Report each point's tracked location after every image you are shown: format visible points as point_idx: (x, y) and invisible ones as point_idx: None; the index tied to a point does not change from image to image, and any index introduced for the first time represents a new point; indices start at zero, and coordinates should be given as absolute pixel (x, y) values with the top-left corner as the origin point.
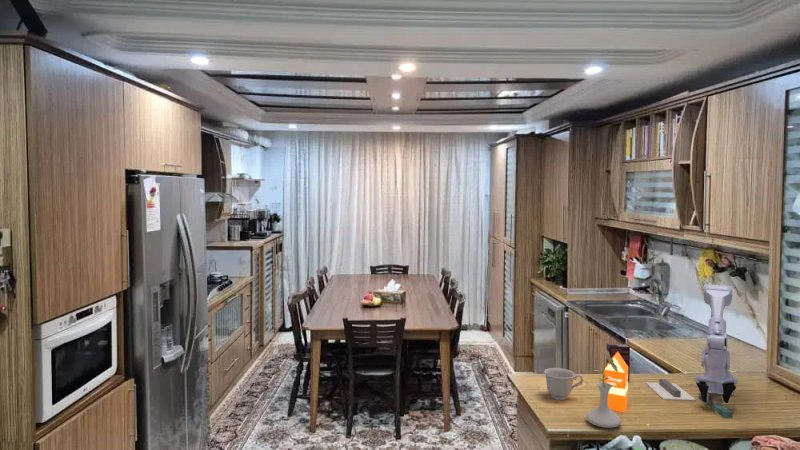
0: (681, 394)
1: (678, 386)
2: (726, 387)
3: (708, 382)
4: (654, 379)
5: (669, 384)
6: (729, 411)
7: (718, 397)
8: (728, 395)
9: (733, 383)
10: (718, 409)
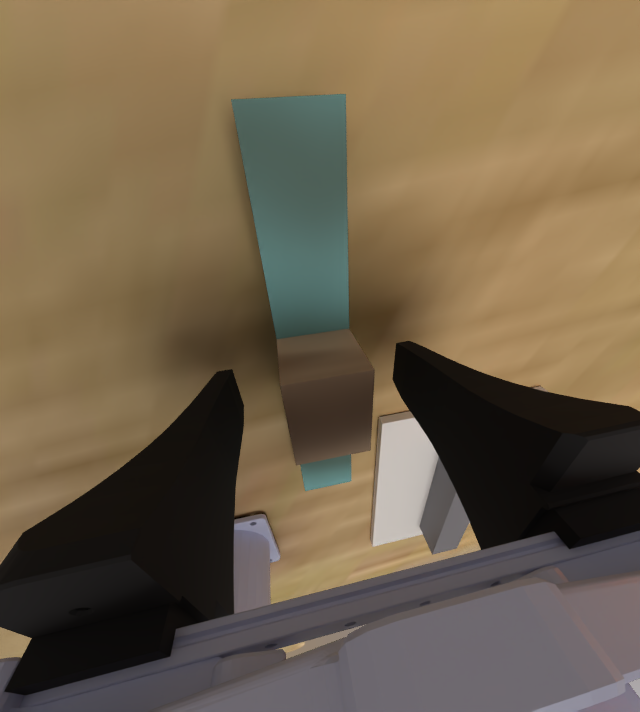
0: (417, 463)
1: (375, 529)
2: (202, 534)
3: (508, 550)
4: (416, 550)
5: (458, 515)
6: (264, 131)
7: (320, 372)
8: (201, 417)
9: (23, 679)
10: (343, 235)
